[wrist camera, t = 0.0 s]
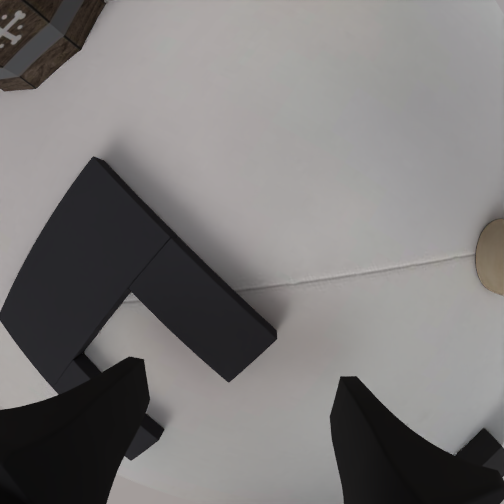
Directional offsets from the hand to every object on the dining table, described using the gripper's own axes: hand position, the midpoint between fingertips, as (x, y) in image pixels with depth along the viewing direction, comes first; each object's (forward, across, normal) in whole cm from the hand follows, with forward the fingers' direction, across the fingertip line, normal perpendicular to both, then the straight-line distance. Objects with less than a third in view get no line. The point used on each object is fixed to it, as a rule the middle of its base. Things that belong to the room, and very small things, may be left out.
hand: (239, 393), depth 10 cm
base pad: (+8, +10, +3) cm, 13 cm away
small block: (+6, -23, +15) cm, 28 cm away
